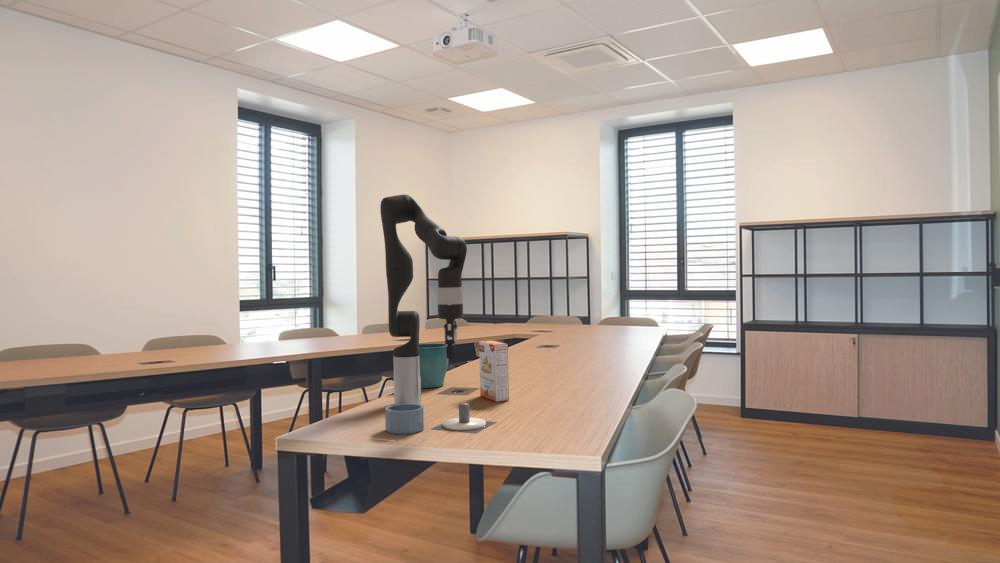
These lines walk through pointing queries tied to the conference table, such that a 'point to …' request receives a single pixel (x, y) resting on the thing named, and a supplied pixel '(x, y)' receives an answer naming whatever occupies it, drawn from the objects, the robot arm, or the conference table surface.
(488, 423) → the mat
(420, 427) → the bowl
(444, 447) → the conference table surface
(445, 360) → the flower pot
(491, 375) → the cracker box
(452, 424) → the lid
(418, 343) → the robot arm
